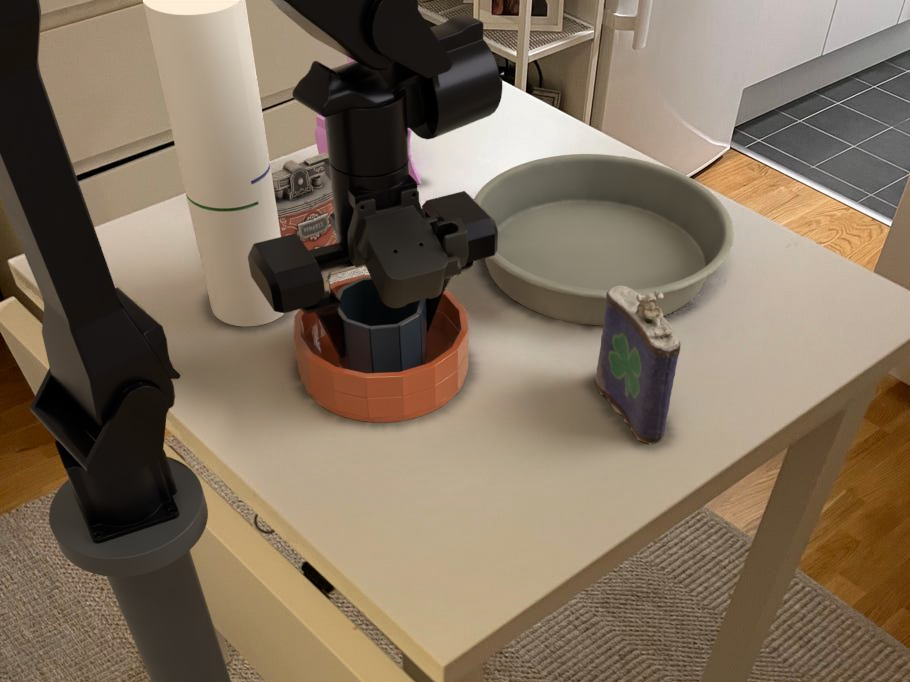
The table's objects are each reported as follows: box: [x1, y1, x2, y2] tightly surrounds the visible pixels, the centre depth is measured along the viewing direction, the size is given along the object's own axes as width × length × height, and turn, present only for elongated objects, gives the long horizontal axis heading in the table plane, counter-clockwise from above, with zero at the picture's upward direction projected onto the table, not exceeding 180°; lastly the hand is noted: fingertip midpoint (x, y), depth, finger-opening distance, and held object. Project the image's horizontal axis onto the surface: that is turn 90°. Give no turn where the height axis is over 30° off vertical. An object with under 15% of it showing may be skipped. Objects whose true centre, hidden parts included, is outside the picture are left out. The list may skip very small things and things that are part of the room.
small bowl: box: [337, 277, 428, 373], centre depth 82 cm, size 7×8×6 cm
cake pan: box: [473, 153, 735, 326], centre depth 94 cm, size 25×25×4 cm
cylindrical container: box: [142, 0, 285, 327], centre depth 81 cm, size 7×7×25 cm
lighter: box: [271, 153, 337, 250], centre depth 90 cm, size 8×3×10 cm, turn 130°
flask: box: [594, 286, 681, 446], centre depth 78 cm, size 9×3×11 cm, turn 24°
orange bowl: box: [293, 274, 469, 423], centre depth 83 cm, size 14×14×4 cm
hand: (382, 343), depth 83 cm, fingers closed on small bowl, 7 cm apart
